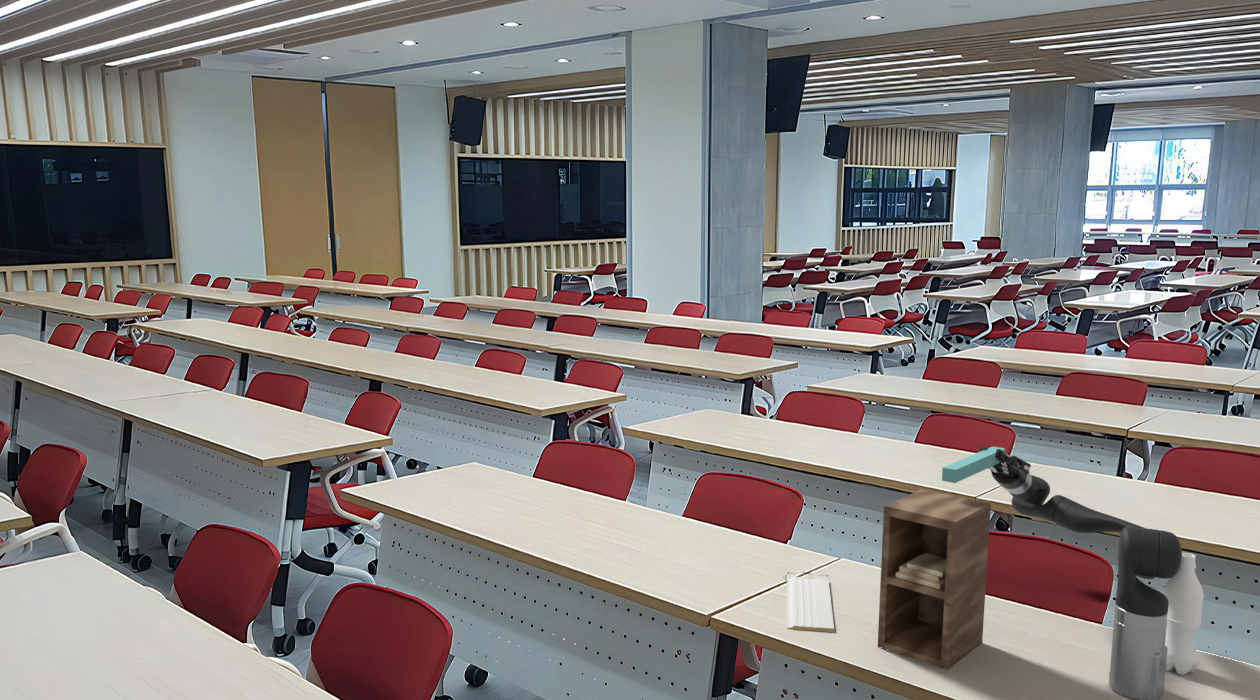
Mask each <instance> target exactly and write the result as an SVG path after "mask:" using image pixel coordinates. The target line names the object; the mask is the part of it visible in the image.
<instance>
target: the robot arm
mask: <svg viewBox="0 0 1260 700" xmlns="http://www.w3.org/2000/svg"><path fill="white" fill-rule="evenodd" d="M986 449H988V448H987V446H981V447H980V450H978V452H977V453H979V452H981V451H983V450H986ZM995 457H996V458H997V459H998V461H999V462H1001V463H999V464H996V465H994V466H992V467H990V468H988V470H990V472H991V476H992V478H993V479H994V481H996V482H997V483H998V484H999V485H1000V486H1001V488H1002V489H1004V490H1005V491H1006V492H1008V494H1010V495H1011V496H1012V498H1011V505H1012V507H1013V509H1014V510H1015V511H1016V512H1018V513H1020V514H1021V515H1024V516H1029V517H1033V518H1039V519H1044V520H1047V521H1050V522H1052V523H1054V524H1057V525H1058V526H1061V527H1063V528H1065V529H1066V530H1070V531H1071V532H1074V533H1078V534H1093V533H1111V532H1112V533H1119V534H1120V535H1119V538H1118V547H1117V548H1118V551H1117V582H1116V593H1115V601H1114V602H1115V604H1114V615H1113V627H1112V638H1111V639H1112V642H1111V653H1110V663H1109V664H1110V665H1109V667H1110V668H1109V674H1108V675H1109V676H1108V677H1109V678H1108V679H1109V680H1108V685H1109V687H1110V688H1111V689H1112V690H1113V691H1114V692H1115V693H1118V694H1120V695H1122V696H1124V697H1127V698H1131V699H1134V700H1158V699H1160V698H1161V695H1162V694H1163V693H1164V691H1165V683H1166V682H1165V681H1166V671H1167V670H1166V661H1167V649H1168V648H1167V646H1165V639H1166V627H1167V616H1168V606H1169V602H1168V599H1167V597H1166V596H1165V595H1164V593H1163V592H1161V591H1160V590H1158V589H1155V588H1154V587H1151V586H1150V585H1147V584H1146V583H1144V582H1143V581H1142V580H1140V579H1139V578H1141V579H1146V580H1154V579H1156V578H1157V579H1168V580H1169V579H1170V578H1172V577H1174V576H1175V575H1176V574H1177V572H1178V570H1179V568H1180V565H1181V561H1182V552H1183V550H1182V545H1181V541H1180V539H1179V538H1178V537H1177V535H1176V534H1174V533H1173V532H1170V531H1167V530H1161V529H1160V530H1159V529H1154V528H1146V527H1144V526H1141V525H1138V524H1135V523H1133V522H1130V521H1127V520H1124V519H1122V518H1118V517H1116V516H1113V515H1111V514H1107V513H1104V512H1101V511H1098V510H1094V509H1092V508H1091V507H1090V508H1089V507H1087V506H1085V505H1083V504H1081V503H1079V502H1077V501H1074V500H1072V499H1070V498H1068V497H1066V496H1063V495H1062V494H1056V495H1053V496H1052V497H1051V498H1050V499H1049V500H1048V501H1046V500H1047V498H1048V497H1049V495H1050V493H1051V487H1050V484H1049V483H1048V482H1047V480H1045V479H1043V478H1041V477H1039V476H1036V475H1033V474H1031V473H1030V470H1031V466H1032V465H1031V463H1028V462H1026V461H1025V460H1023V459H1021V458H1020V457H1018V456H1016V455H1009V454H1008V453H1006V452H1005V453H1004V452H1003V451H1002V450H1001V449H997V450H996V456H995Z"/></svg>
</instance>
